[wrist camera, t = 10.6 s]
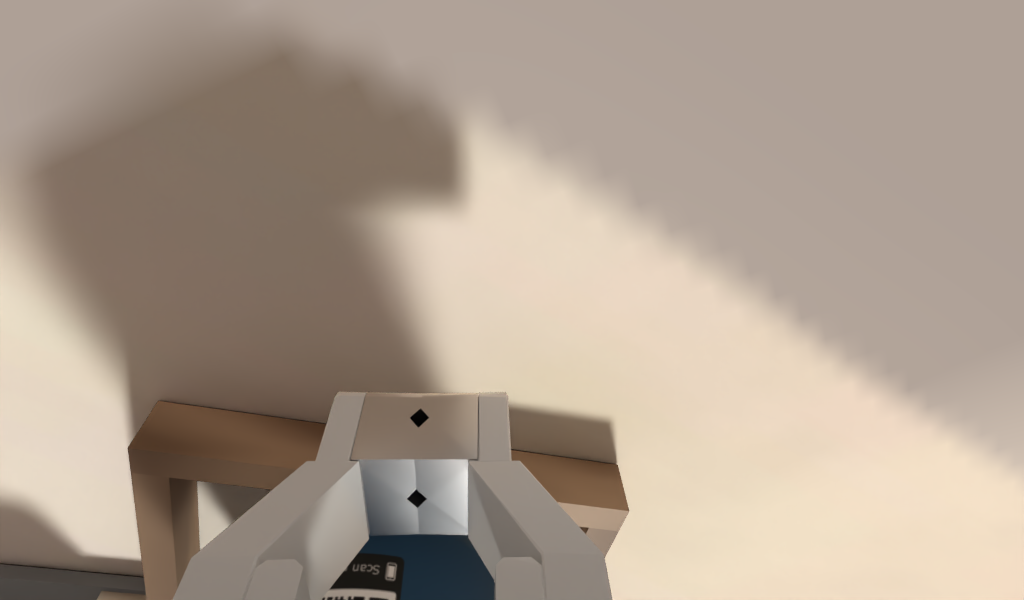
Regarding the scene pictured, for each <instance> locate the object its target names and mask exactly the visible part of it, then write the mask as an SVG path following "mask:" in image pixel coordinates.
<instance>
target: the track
mask: <svg viewBox="0 0 1024 600" xmlns="http://www.w3.org/2000/svg"><path fill="white" fill-rule="evenodd" d="M325 427H326V424H321V423H313V422H306V421H299V420H292V419H285V418H278V417H270V416H263V415H256V414H249V413H242V412H235V411H227V410H220V409H213V408H206V407H199V406H191V405H184V404H177V403H170V402H163V401H158V402H157V403H156V405H155V406H154V408H153V410H152V411H151V413H150V414H149V416H148V417H147V419H146V421H145V422H144V424H143V425H142V427H141V428H140V430H139V431H138V433H137V435H136V436H135V438H134V439H133V441H132V442H131V444H130V445H129V447H128V453H129V461H130V469H131V477H132V486H133V494H134V502H135V510H136V518H137V526H138V534H139V542H140V550H141V558H142V566H143V575H144V583H145V591H146V595H142V594H131V593H120V592H109V591H101V593H100V595H99V596H98V598H97V600H173V597H174V595H175V593H176V591H177V589H178V586H179V584H180V582H181V580H182V577H183V575H184V573H185V571H186V569H187V566H188V564H189V562H190V560H191V558H192V557H193V556H194V555H195V554H197V553H198V552H199V551H200V546H199V521H198V497H197V481H203V482H211V483H220V484H228V485H236V486H245V487H253V488H262V489H270V490H273V489H274V488H275V487H276V486H278V485H279V484H280V483H281V482H282V481H284V480H285V479H286V478H287V477H288V476H289V475H291V474H292V473H293V472H294V471H295V470H297V469H298V468H299V467H300V466H301V465H303V464H304V463H305V462H306V461H315V460H316V457H317V454H318V450H319V447H320V444H321V440H322V437H323V434H324V430H325ZM511 459H512V461H521V463H522V464H523V465H524V466H525V467H526V468H527V469H528V470H529V471H530V473H531V474H532V475H533V476H534V477H535V478H536V479H537V480H538V481H539V483H540V484H541V485H542V486H543V487H544V488H545V489H546V490H547V492H548V493H549V494H550V495H551V496H552V497H553V498H554V499H555V500H556V502H557V503H558V504H559V505H560V506H561V507H562V508H563V509H564V511H565V512H566V513H567V514H568V515H569V516H570V517H571V518H572V519H573V521H574V522H575V523H576V524H577V525H578V526H579V527H580V528H581V529H582V531H583V532H584V533H585V534H586V535H587V536H588V537H589V538H590V540H591V541H592V542H593V543H594V544H595V545H596V546H597V547H598V548H599V550H600V551H601V552H602V553H603V554H604V558H605V556H606V554H607V552H608V550H609V549H610V547H611V545H612V543H613V541H614V539H615V537H616V535H617V533H618V532H619V530H620V528H621V526H622V524H623V522H624V520H625V518H626V516H627V514H628V513H629V508H628V504H627V500H626V496H625V492H624V488H623V484H622V480H621V476H620V472H619V468H618V465H615V464H608V463H601V462H593V461H586V460H579V459H572V458H565V457H558V456H550V455H543V454H536V453H529V452H522V451H515V450H511Z"/></svg>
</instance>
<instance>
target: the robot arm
mask: <svg viewBox="0 0 1024 600" xmlns="http://www.w3.org/2000/svg"><path fill="white" fill-rule="evenodd" d="M407 534H441V535H468V538H469V539H470V541H471V543H472V544H473V546H474V548H475V549H476V551H477V553H478V554H479V556H480V558H481V559H482V561H483V563H484V564H485V566H486V568H487V569H488V571H489V572H490V574H491V576H492V577H493V579H494V581H495V588H494V600H612V595H611V589H610V584H609V579H608V574H607V568H606V563H605V558H604V554H603V553H602V552H601V551H600V550H599V548H598V547H597V546H596V545H595V544H594V543H593V542H592V541H591V540H590V538H589V537H588V536H587V535H586V534H585V533H584V532H583V531H582V529H581V528H580V527H579V526H578V525H577V524H576V523H575V522H574V521H573V519H572V518H571V517H570V516H569V515H568V514H567V513H566V512H565V511H564V509H563V508H562V507H561V506H560V505H559V504H558V503H557V502H556V500H555V499H554V498H553V497H552V496H551V495H550V494H549V493H548V492H547V490H546V489H545V488H544V487H543V486H542V485H541V484H540V483H539V481H538V480H537V479H536V478H535V477H534V476H533V475H532V474H531V473H530V471H529V470H528V469H527V468H526V467H525V466H524V465H523V464H522V463H521V461H512V459H511V441H510V423H509V405H508V395H507V393H506V392H495V393H479V396H478V393H392V392H367V393H366V392H338V393H337V395H336V396H335V397H334V400H333V404H332V407H331V410H330V414H329V417H328V420H327V424H326V427H325V430H324V434H323V437H322V440H321V444H320V447H319V450H318V454H317V457H316V460H315V461H306V462H305V463H304V464H303V465H301V466H300V467H299V468H298V469H297V470H295V471H294V472H293V473H292V474H291V475H289V476H288V477H287V478H286V479H285V480H284V481H282V482H281V483H280V484H279V485H278V486H276V487H275V488H274V489H273V490H272V491H270V492H269V493H268V494H267V495H266V496H264V497H263V498H262V499H261V500H260V501H258V502H257V503H256V504H255V505H254V506H253V507H251V508H250V509H249V510H248V511H247V512H245V513H244V514H243V515H242V516H241V517H239V518H238V519H237V520H236V521H235V522H233V523H232V524H231V525H230V526H229V527H228V528H226V529H225V530H224V531H223V532H222V533H220V534H219V535H218V536H217V537H216V538H214V539H213V540H212V541H211V542H210V543H208V544H207V545H206V546H205V547H204V548H202V549H201V550H200V551H199V552H198V553H197V554H195V555H194V556H193V557H192V558H191V560H190V562H189V564H188V566H187V569H186V571H185V573H184V575H183V577H182V580H181V582H180V584H179V586H178V589H177V591H176V593H175V595H174V597H173V600H321V599H322V598H323V597H324V595H325V594H326V593H327V592H328V590H329V589H330V588H331V587H332V585H333V584H334V583H335V581H336V580H337V579H338V578H339V576H340V575H341V574H342V573H343V571H344V570H345V569H346V567H347V566H348V565H349V564H350V562H351V561H352V560H353V559H354V557H355V556H356V555H357V554H358V552H359V551H360V550H361V548H362V547H363V546H364V545H365V543H366V542H367V541H368V540H369V536H380V535H407Z"/></svg>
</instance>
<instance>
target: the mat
mask: <svg viewBox="0 0 1024 600" xmlns="http://www.w3.org/2000/svg"><path fill="white" fill-rule="evenodd" d="M101 591H109V592H120V593H131V594H142V595H146V591H145V583H144V578H143V577H133V576H122V575H111V574H101V573H90V572H79V571H68V570H58V569H47V568H36V567H26V566H15V565H4V564H0V600H97V598H98V596H99V595H100V593H101Z"/></svg>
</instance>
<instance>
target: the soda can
mask: <svg viewBox="0 0 1024 600" xmlns="http://www.w3.org/2000/svg"><path fill="white" fill-rule="evenodd" d="M494 588H495V582H494V579H493V577H492V576H491V574H490V572H489V571H488V569H487V568H486V566H485V564H484V563H483V561H482V559H481V558H480V556H479V554H478V553H477V551H476V549H475V548H474V546H473V544H472V543H471V541H470V539H469V538H468V535H441V534H407V535H380V536H369V540H368V541H367V542H366V543H365V545H364V546H363V547H362V548H361V550H360V551H359V552H358V554H357V555H356V556H355V557H354V559H353V560H352V561H351V562H350V564H349V565H348V566H347V567H346V569H345V570H344V571H343V573H342V574H341V575H340V576H339V578H338V579H337V580H336V581H335V583H334V584H333V585H332V587H331V588H330V589H329V590H328V592H327V593H326V594H325V595H324V597H323V598H322V599H321V600H494Z"/></svg>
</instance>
